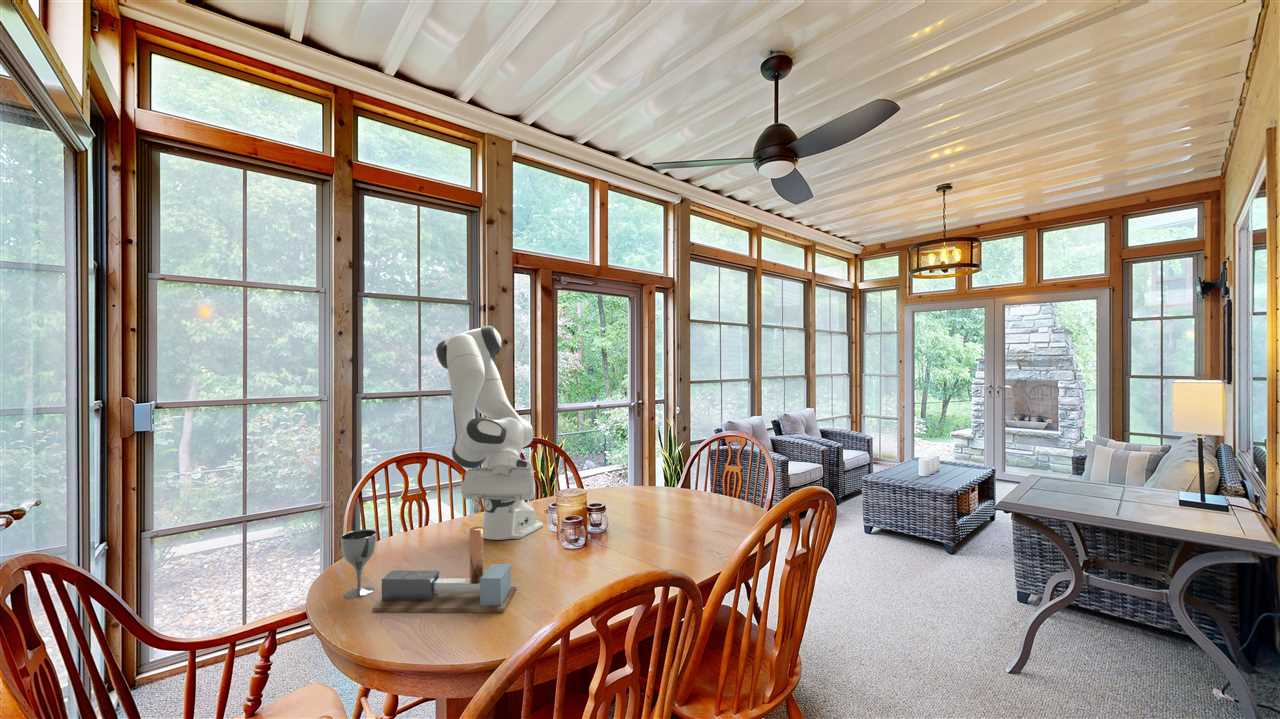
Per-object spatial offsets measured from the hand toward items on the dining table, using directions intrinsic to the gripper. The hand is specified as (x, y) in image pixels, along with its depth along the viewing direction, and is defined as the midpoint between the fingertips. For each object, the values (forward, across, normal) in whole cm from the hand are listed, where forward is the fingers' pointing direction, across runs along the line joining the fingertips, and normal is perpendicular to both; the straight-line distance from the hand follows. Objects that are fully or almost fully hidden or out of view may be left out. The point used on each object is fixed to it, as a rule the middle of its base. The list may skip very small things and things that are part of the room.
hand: (493, 512), depth 143 cm
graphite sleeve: (+21, -17, +5) cm, 27 cm away
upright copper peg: (+20, -5, +3) cm, 21 cm away
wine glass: (+18, -33, +9) cm, 39 cm away
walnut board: (+22, -8, +5) cm, 24 cm away
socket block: (+21, +4, +4) cm, 22 cm away
